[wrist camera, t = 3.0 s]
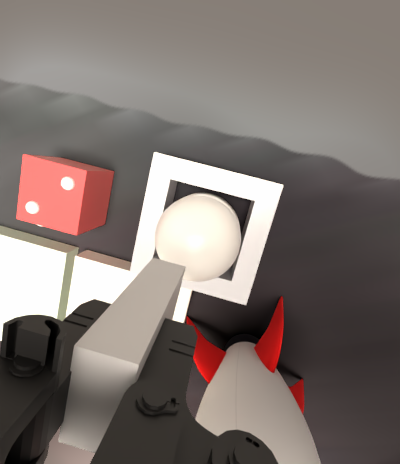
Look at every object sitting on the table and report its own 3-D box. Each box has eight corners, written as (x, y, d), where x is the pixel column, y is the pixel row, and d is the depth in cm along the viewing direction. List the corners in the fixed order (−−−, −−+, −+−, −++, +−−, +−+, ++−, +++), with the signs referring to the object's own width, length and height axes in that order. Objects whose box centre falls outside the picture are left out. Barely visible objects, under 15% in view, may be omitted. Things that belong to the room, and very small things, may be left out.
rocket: (210, 394, 35) (160, 887, 11) (186, 316, 34) (61, 695, 9) (303, 379, 33) (489, 930, 9) (282, 295, 32) (443, 700, 7)
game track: (195, 280, 32) (192, 288, 30) (170, 376, 35) (165, 391, 33) (-25, 218, 34) (-45, 222, 32) (-32, 315, 37) (-51, 325, 34)
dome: (248, 203, 27) (254, 214, 20) (228, 272, 29) (227, 307, 21) (175, 184, 28) (154, 187, 20) (159, 253, 29) (134, 281, 22)
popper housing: (276, 183, 29) (283, 184, 25) (244, 289, 32) (246, 305, 28) (164, 154, 30) (154, 151, 26) (141, 260, 33) (129, 272, 29)
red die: (114, 171, 31) (83, 170, 25) (104, 229, 32) (72, 243, 26) (57, 156, 31) (11, 152, 25) (49, 214, 33) (4, 224, 26)
